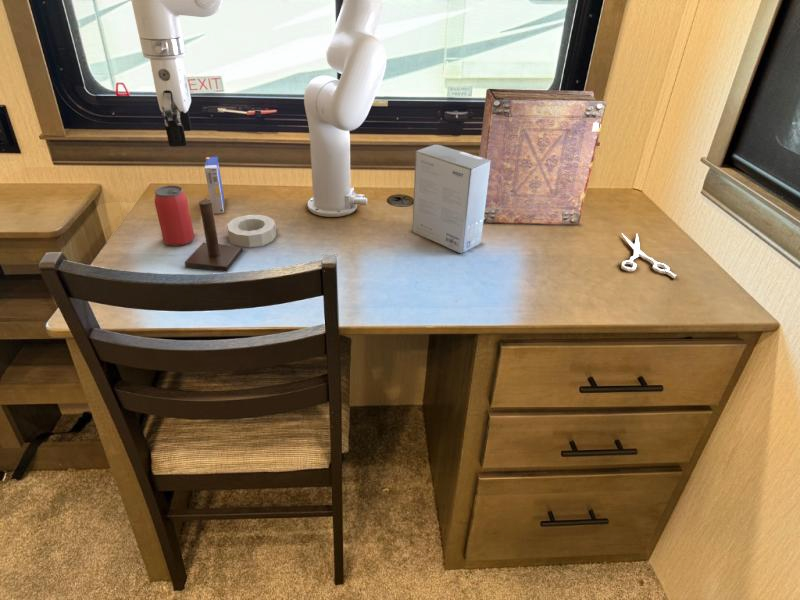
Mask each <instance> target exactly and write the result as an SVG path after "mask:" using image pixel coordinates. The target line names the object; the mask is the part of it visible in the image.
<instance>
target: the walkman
mask: <svg viewBox="0 0 800 600" xmlns="http://www.w3.org/2000/svg"><path fill="white" fill-rule="evenodd" d="M219 163H220V162H219V156H206V157H205V162H204V172H205V178H206V185H207V190H208V196H209V200H211V202H212V208H213V214H224V212H225V194H224V190H223V189H224V188H223V182H222V177H221V170H220V164H219Z"/></svg>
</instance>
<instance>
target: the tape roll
mask: <svg viewBox="0 0 800 600" xmlns="http://www.w3.org/2000/svg"><path fill="white" fill-rule="evenodd" d="M226 229H227V230H226V231H227V235H228V239H229V243H230V244H232V245H234V246H242V247H243V248H257V247H263V246H266V245H268V244H269V243H272V242H273V241H274V239H275V238H276V237H277V228H276V222H275V220H274V219H273V218H271V217H269V216H267V215H263V214H262V215H261V214H248V215H247V214H246V215H241V216H238V217H236V218H232V219H231V220H230V221H229V222H228V223H227V224H226Z"/></svg>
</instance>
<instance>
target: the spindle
mask: <svg viewBox="0 0 800 600" xmlns="http://www.w3.org/2000/svg"><path fill="white" fill-rule="evenodd" d="M198 205H199V210H200V216H201V221H202V228H203V233H204V238H205V242H202V243H201V244H200V245H199V247H197V248H196V250H195V251H194V252H193V253H192V254H191V255H190V256H189V257H188V258H187V259H186V260H185V262H184V266H185V268H190V269H197V270H207V271H208V270H209V271H217V272H228V271H229V269H230V268H231V267H232V266H233V265H234V263H235V262H236V261H237V260H238V258H239V257H240V256H241V254H242V253H243V252H244V247H242V246H237V245H234V244H224V243H219V237H218V232H217V227H216V220H215V216H214V214H215V213H213V208H212V202H211V200H210V199H202V200H199V202H198Z"/></svg>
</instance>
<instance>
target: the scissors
mask: <svg viewBox="0 0 800 600" xmlns="http://www.w3.org/2000/svg"><path fill="white" fill-rule="evenodd" d="M620 234H621V235H622V237H623V238H624V240H625V241H626V243H627V244H628V246H629V247H630V248H631V249H632V250H633V253H632V256H630V257H629V259H627V260H623V261H622V262H621V264H620V267H621V269H622V270H624V271H625V272H634V271H635V270H636V269H637V263H636V262H634V260H636V259H638V258H642V259H643V260H646V261H648V262H650V264H652V267H651V268H652V269H653V270H654V271H655V272H657V273H660V274H665V275H667V276H669V277H671V278H672V279H675V278H676V277H677V274H676V273H674V272H672V271H671V270H670V267H669V266H668V265H667V264H665V263H663V262H659V261H656V260H654V258H653V257H649V256H648V255H646V254H645V252H643V251H642V250H641V245H640V240H639V235H638V234H636V235H635V240H634V241H635V242H634V243H633V242H632V241H631V240H630V238H629V239H628V237H627V236H626V235H625V234H623V233H622V232H620ZM625 265H628V266H625ZM629 265H630V267H629ZM660 267H661V268H660Z"/></svg>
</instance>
